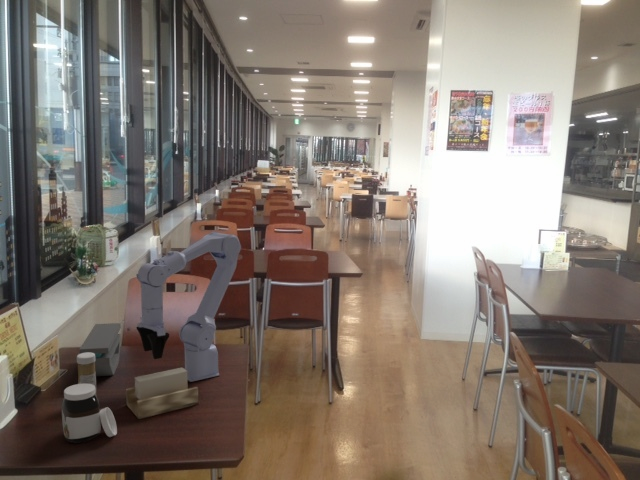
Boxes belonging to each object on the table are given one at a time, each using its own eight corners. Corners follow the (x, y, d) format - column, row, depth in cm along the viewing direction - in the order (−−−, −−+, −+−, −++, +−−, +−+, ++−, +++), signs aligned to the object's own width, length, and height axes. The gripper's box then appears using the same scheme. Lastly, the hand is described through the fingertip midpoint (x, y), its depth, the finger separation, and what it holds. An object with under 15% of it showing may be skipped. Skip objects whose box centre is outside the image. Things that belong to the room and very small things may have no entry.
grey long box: (109, 384, 169) (108, 347, 168) (81, 385, 168) (79, 349, 166) (121, 354, 194) (120, 323, 192) (96, 356, 192) (95, 324, 191)
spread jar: (59, 432, 140) (56, 385, 139) (107, 419, 147) (105, 375, 145) (73, 452, 131) (70, 403, 129) (123, 438, 138) (121, 391, 136)
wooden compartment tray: (183, 391, 165) (183, 376, 164) (198, 404, 157) (198, 388, 156) (126, 405, 155) (125, 388, 155) (138, 419, 147) (138, 402, 147)
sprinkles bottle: (82, 399, 159) (79, 351, 157) (99, 399, 159) (97, 351, 157) (76, 406, 154) (74, 357, 152) (94, 406, 155) (92, 357, 153)
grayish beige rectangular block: (182, 384, 161) (182, 367, 160) (187, 389, 158) (187, 371, 157) (135, 395, 153) (134, 377, 152) (139, 400, 150) (139, 381, 150)
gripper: (129, 303, 166) (130, 349, 168) (146, 314, 154) (147, 364, 156) (153, 300, 170) (154, 345, 172) (172, 311, 158) (173, 359, 160)
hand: (152, 354), depth 164 cm, fingers open, 7 cm apart
